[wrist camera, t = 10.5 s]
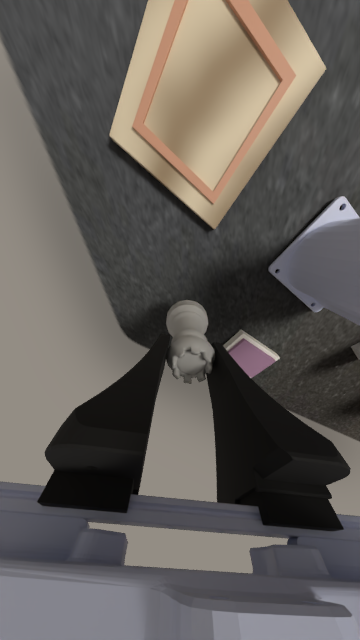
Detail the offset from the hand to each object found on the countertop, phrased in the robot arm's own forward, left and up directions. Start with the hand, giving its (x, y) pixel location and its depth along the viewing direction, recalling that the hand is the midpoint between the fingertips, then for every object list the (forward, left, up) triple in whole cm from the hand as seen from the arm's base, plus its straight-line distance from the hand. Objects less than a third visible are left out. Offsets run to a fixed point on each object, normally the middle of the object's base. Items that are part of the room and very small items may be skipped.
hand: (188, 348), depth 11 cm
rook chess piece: (0, +1, -6) cm, 6 cm away
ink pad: (-13, +2, -9) cm, 16 cm away
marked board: (+8, -13, -9) cm, 18 cm away
